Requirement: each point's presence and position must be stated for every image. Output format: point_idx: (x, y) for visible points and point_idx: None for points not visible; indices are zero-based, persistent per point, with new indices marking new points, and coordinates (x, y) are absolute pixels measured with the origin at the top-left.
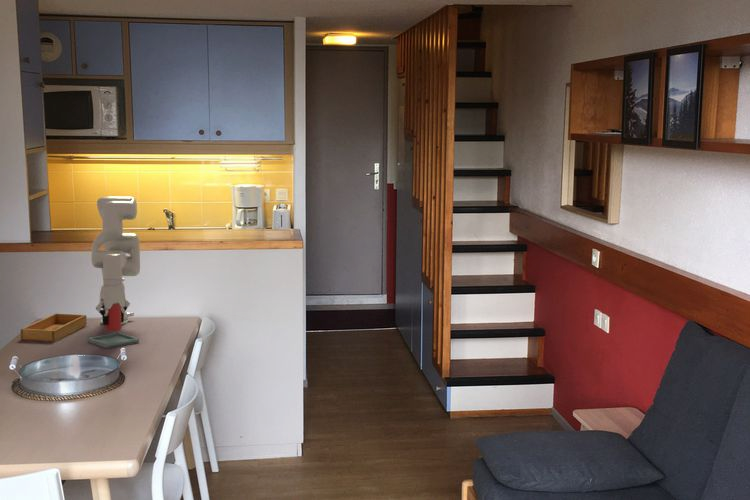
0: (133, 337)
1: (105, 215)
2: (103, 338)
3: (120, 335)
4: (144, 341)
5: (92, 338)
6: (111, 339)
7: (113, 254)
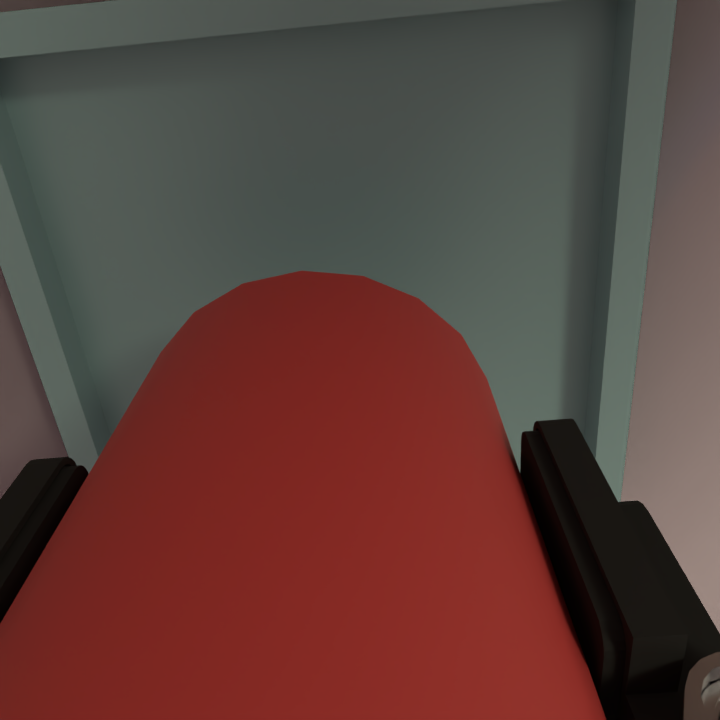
0: (601, 463)
1: None
2: (253, 62)
3: (616, 73)
4: (690, 493)
5: (9, 56)
6: (338, 232)
7: None
